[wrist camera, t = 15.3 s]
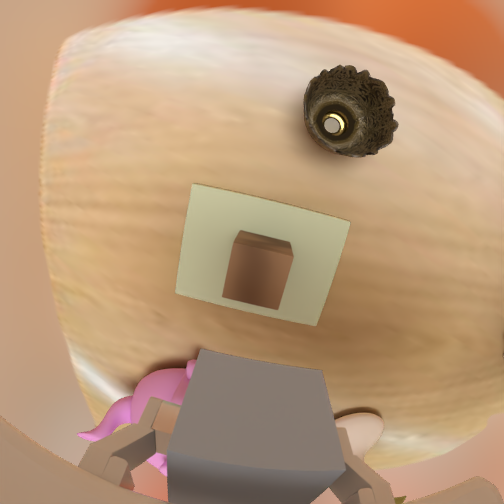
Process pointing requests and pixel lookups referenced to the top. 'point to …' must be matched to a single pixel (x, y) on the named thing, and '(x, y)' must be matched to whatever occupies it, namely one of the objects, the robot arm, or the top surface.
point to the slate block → (252, 435)
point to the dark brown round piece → (350, 111)
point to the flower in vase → (363, 434)
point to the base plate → (268, 224)
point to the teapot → (131, 408)
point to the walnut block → (258, 270)
